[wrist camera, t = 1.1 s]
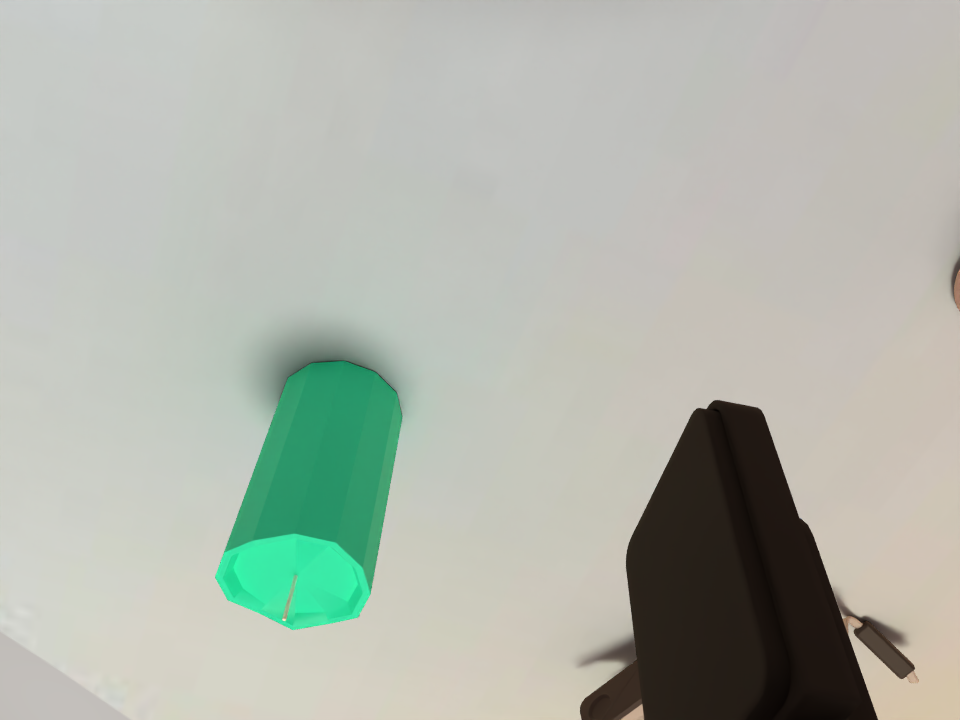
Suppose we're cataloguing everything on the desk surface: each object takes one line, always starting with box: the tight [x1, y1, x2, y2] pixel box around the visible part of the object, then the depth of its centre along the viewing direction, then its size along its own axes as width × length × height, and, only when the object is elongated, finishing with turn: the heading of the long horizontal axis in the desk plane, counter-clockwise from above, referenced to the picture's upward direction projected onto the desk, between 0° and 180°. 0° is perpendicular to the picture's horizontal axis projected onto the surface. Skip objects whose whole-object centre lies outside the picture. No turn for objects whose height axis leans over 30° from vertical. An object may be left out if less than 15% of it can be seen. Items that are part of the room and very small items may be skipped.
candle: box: [215, 361, 402, 630], centre depth 36 cm, size 6×6×12 cm
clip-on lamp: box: [580, 616, 919, 720], centre depth 50 cm, size 12×6×18 cm
